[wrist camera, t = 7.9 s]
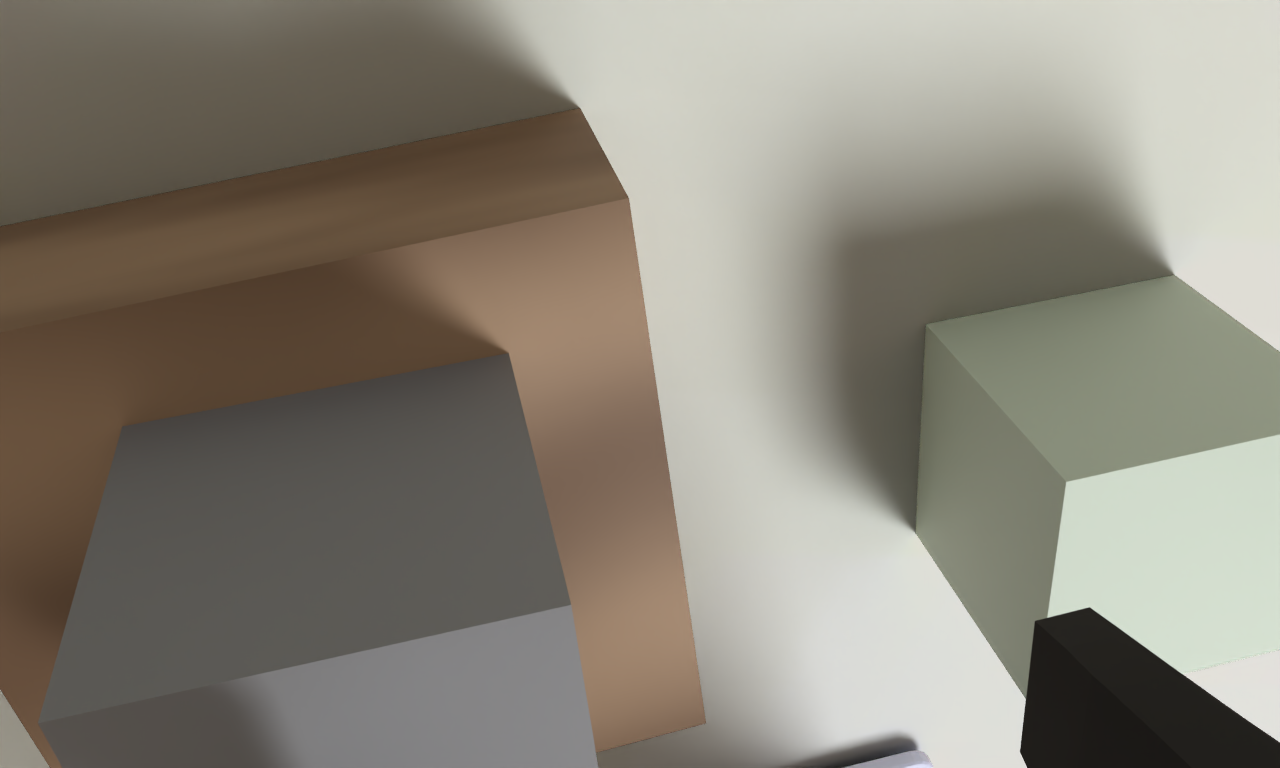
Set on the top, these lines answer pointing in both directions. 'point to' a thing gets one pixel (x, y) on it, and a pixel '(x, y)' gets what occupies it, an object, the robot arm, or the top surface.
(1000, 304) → the top surface
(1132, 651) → the robot arm
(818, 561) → the top surface
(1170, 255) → the top surface
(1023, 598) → the sage cube
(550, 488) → the walnut block
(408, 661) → the gray cube
